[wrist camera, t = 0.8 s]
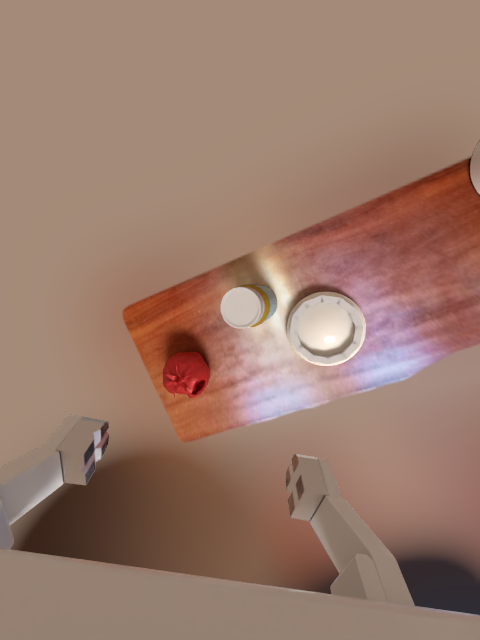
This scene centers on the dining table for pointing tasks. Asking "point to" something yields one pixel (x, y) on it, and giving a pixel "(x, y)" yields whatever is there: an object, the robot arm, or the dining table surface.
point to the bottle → (248, 306)
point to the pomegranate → (186, 374)
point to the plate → (326, 328)
